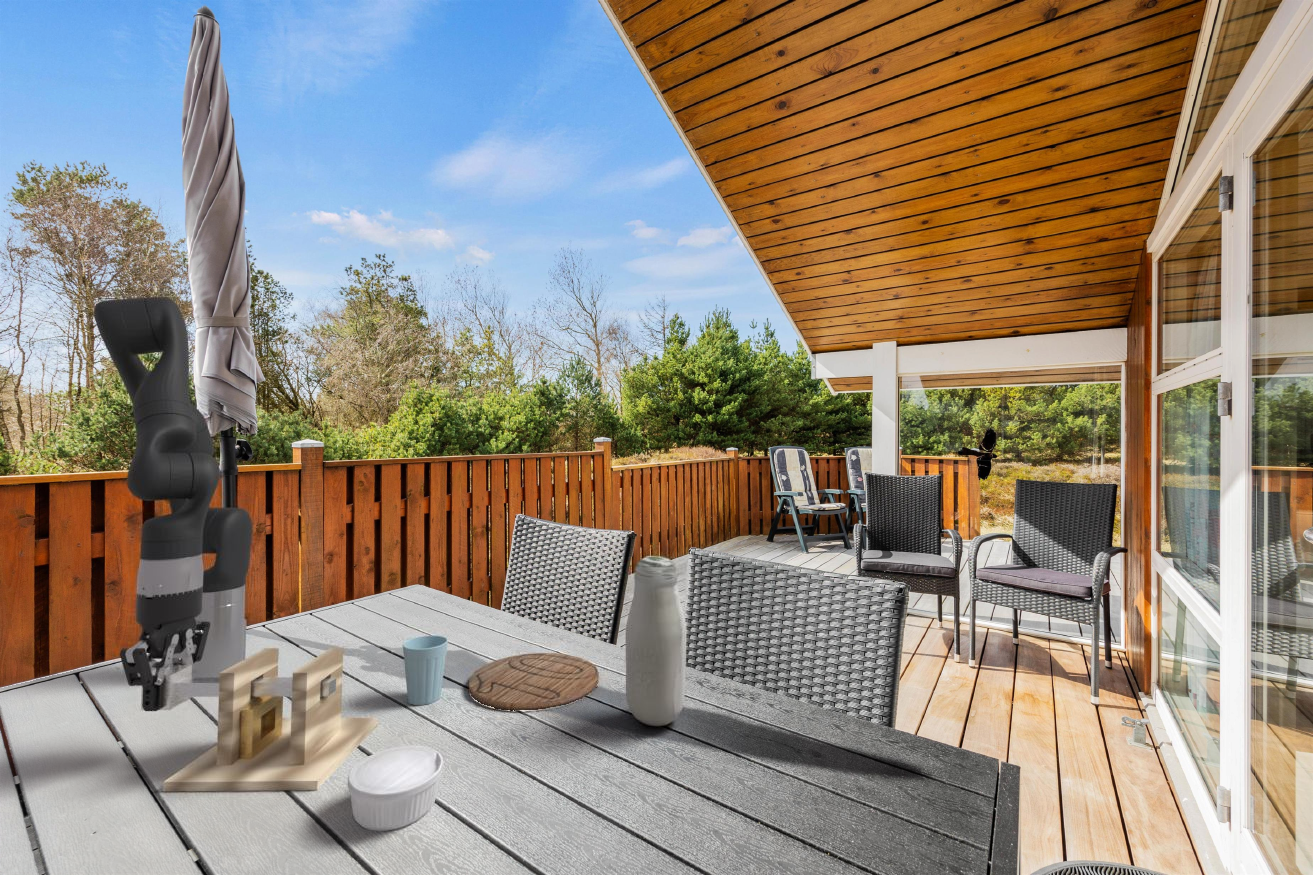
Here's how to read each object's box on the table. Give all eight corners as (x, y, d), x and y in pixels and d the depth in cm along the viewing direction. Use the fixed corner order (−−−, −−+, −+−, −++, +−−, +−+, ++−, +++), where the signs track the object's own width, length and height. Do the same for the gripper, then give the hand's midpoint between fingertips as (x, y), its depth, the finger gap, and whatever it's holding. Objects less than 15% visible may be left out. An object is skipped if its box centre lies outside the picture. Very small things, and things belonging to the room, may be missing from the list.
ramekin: (434, 832, 68) (435, 787, 68) (332, 843, 66) (333, 797, 66) (448, 779, 79) (449, 741, 79) (362, 787, 77) (363, 748, 77)
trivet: (555, 725, 96) (555, 713, 96) (439, 699, 105) (439, 688, 105) (619, 672, 119) (619, 663, 119) (519, 654, 128) (519, 646, 128)
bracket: (162, 791, 75) (166, 684, 75) (253, 725, 93) (256, 639, 93) (317, 789, 76) (320, 684, 76) (377, 725, 94) (380, 639, 94)
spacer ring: (240, 759, 81) (241, 709, 81) (271, 734, 88) (272, 689, 88) (251, 759, 81) (253, 709, 81) (281, 734, 88) (283, 689, 88)
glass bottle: (692, 714, 99) (694, 554, 100) (669, 741, 90) (671, 564, 91) (641, 703, 104) (644, 549, 104) (614, 727, 94) (617, 558, 95)
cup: (448, 687, 109) (449, 633, 109) (445, 705, 102) (446, 646, 102) (405, 692, 107) (406, 636, 107) (399, 710, 99) (400, 650, 100)
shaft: (140, 710, 82) (142, 675, 82) (163, 698, 86) (164, 664, 86) (324, 709, 83) (325, 675, 83) (338, 697, 87) (339, 664, 87)
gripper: (182, 575, 91) (178, 683, 91) (99, 598, 77) (94, 726, 77) (230, 576, 92) (226, 683, 91) (156, 599, 77) (151, 726, 77)
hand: (166, 702), depth 84 cm, fingers closed on shaft, 4 cm apart
